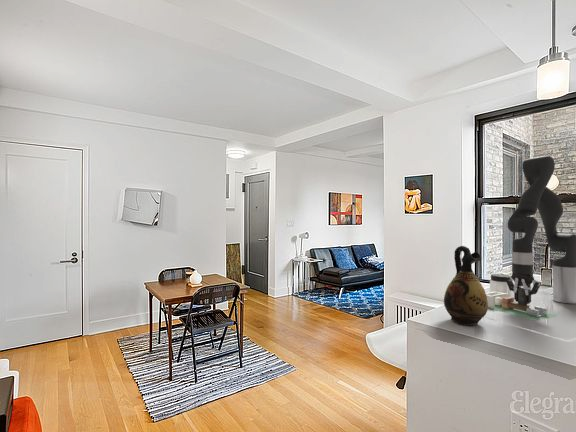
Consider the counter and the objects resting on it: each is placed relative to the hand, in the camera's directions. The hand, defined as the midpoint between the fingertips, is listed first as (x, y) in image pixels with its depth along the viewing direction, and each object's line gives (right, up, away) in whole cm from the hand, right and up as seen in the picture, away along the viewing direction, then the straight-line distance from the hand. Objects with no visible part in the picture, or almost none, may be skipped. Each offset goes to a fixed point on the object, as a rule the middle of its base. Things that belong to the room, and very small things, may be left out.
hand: (522, 302), depth 140 cm
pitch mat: (-2, -5, +3) cm, 6 cm away
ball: (-4, -2, +9) cm, 11 cm away
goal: (-5, -4, +11) cm, 13 cm away
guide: (+2, -4, -5) cm, 7 cm away
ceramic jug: (-31, -5, -11) cm, 34 cm away
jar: (+6, -5, +23) cm, 25 cm away
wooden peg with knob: (-1, -4, +2) cm, 5 cm away
